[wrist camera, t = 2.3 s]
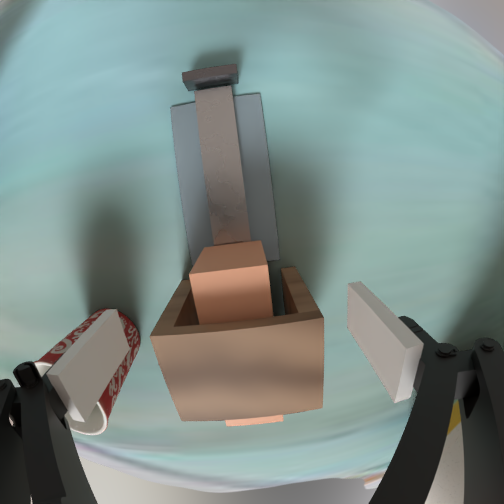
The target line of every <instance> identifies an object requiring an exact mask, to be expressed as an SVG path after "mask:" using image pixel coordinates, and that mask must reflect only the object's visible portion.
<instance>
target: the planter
mask: <svg viewBox="0 0 504 504" xmlns="http://www.w3.org/2000/svg"><path fill="white" fill-rule="evenodd" d="M463 502H464V450H463V436H462V425H461V417H460V409H459V402H458V399H456V400H454V403H453V409H452V414H451V419H450V424H449V428H448V433H447V437H446V441H445V445H444V449H443V452H442V456H441V459H440V462H439V466H438V469H437V472H436V475H435V478H434V481H433V483H432V486H431V489H430V491H429V494H428V497H427V499H426V502H425V504H463Z"/></svg>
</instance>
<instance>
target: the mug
mask: <svg viewBox="0 0 504 504" xmlns="http://www.w3.org/2000/svg"><path fill="white" fill-rule="evenodd" d="M105 310H109V309H101V310H98V311H97V312H95V313H94V314H92V315H91V316H90V317H89V318H88V319H87V320H85V321H84V322H83V323H82V324H81V325H79V326H78V327H77V328H76V329H74V330H73V331H72V332H71V333H70V334H68V335H67V336H66V337H65V338H64V339H63V340H61V341H60V342H59V343H58V344H56V345H55V346H54V347H53V348H52V349H51V350H50V351H49V352H47V353H46V354H45V355H44V356H43V357H42V358H41V359H39V360H38V361H35V362H34V363H35V365H36V367H37V369H38V371H39V373H40V375H41V377H42V376H43V375H44V374H45V373H46V372H47V370H48V369H49V368H50V367H51V366H52V365H54V363H55V362H56V360H58V358H59V357H60V356H61V355H62V354H63V353H64V352H66V351H67V350H68V349H69V348H70V347H71V346H72V345H73V344H74V342H75V341H76V340H77V339H78V338H79V337H80V336H81V335H82V334H83V333H84V332H85V331H86V330H87V329H88V328H89V327H90V326H91V325H92V324H93V323H94V322H95V321H96V319H97V318H98V317H99V316H100V315H101V314H102V313H103V312H104V311H105ZM117 312H118V315H119V318H120V321H121V324H122V327H123V330H124V333H125V336H126V339H127V342H128V345H129V347H130V350H129V351H128V353H127V354H126V356H125V357H124V359H123V361H122V362H121V364H120V366H119V367H118V369H117V370H116V372H115V374H114V375H113V377H112V379H111V380H110V382H109V383H108V385H107V387H106V388H105V390H104V392H103V393H102V395H101V397H100V398H99V400H98V402H97V404H96V405H95V407H94V409H93V410H92V412H91V414H90V416H89V417H88V419H87V421H86V423H85V422H80V421H76V420H73V419H72V417H71V416H70V414H69V412H68V411H67V413H66V414H65V417H66V419H67V421H68V423H69V427H70V429H72V430H74V431H76V432H79V433H83V434H87V435H97V434H100V433H102V432H104V431H105V430H106V428H107V425H108V418H109V415H110V413H111V410H112V408H113V406H114V403H115V401H116V399H117V397H118V394H119V392H120V389H121V387H122V385H123V382H124V380H125V378H126V376H127V374H128V372H129V369H130V367H131V365H132V363H133V360H134V358H135V357H136V355H137V352H138V350H139V347H140V337H139V333H138V331H137V329H136V327H135V325H134V324H133V322H132V321H131V320H130V319H129V318H128V317H126V316H125V315H124V314H122V313H121V312H119V311H117Z"/></svg>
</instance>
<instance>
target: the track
mask: <svg viewBox="0 0 504 504" xmlns="http://www.w3.org/2000/svg"><path fill="white" fill-rule="evenodd" d="M182 79H183V83H184V84H185V86H186V88H187V89H188V91H192V90H197V89H203V88H209V87H215V86H222V85H229V84H237V83H238V75H237V66H236V64H231V65H224V66H216V67H210V68H204V69H198V70H193V71H188V72H183V73H182ZM194 93H195V103H196V113H197V122H198V131H199V139H200V147H201V156H202V164H203V171H204V179H205V186H206V194H207V201H208V208H209V215H210V221H211V228H212V235H213V241H214V246H219V245H227V244H235V243H242V242H250V241H251V237H250V229H249V222H248V214H247V206H246V198H245V190H244V182H243V174H242V166H241V159H240V151H239V143H238V135H237V127H236V119H235V111H234V104H233V96H232V88H231V86H223V87H216V88H210V89H204V90H198V91H194Z"/></svg>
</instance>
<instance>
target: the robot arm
mask: <svg viewBox="0 0 504 504" xmlns="http://www.w3.org/2000/svg"><path fill="white" fill-rule="evenodd" d="M347 328H348V329H349V331H350V332H351V334H352V336H353V337H354V339H355V340H356V342H357V343H358V345H359V346H360V348H361V350H362V351H363V353H364V354H365V356H366V358H367V359H368V361H369V362H370V364H371V366H372V367H373V369H374V370H375V372H376V374H377V375H378V377H379V379H380V380H381V382H382V383H383V385H384V387H385V388H386V390H387V392H388V393H389V395H390V397H391V398H392V400H393V402H394V403H396V402H399V401H402V400H405V399H408V398H410V397H411V393H412V390H413V387H414V389H415V390H416V392H417V396H416V399H415V402H414V405H413V408H412V411H411V414H410V417H409V419H408V422H407V425H406V427H405V430H404V432H403V435H402V437H401V440H400V442H399V444H398V447H397V449H396V451H395V454H394V456H393V458H392V460H391V462H390V464H389V466H388V468H387V470H386V472H385V474H384V476H383V478H382V480H381V482H380V484H379V486H378V488H377V490H376V491H375V493H374V495H373V497H372V499H371V500H370V502H369V504H425V502H426V499H427V497H428V494H429V491H430V489H431V486H432V483H433V481H434V478H435V475H436V472H437V469H438V466H439V462H440V459H441V456H442V452H443V449H444V445H445V441H446V437H447V433H448V428H449V424H450V419H451V414H452V409H453V403H454V400H456V399H458V402H459V409H460V417H461V425H462V436H463V450H464V502H463V504H504V352H503V350H502V348H501V346H500V344H499V343H498V342H497V341H495V340H494V339H492V338H480V339H478V340H476V341H475V343H474V346H473V350H467V351H459V350H458V349H457V348H456V347H455V346H453V345H451V344H447V343H437V342H436V341H435V340H434V339H433V338H432V337H431V336H430V335H429V334H428V333H427V332H426V331H425V330H423V329H422V328H421V327H420V326H419V325H418V324H417V323H416V322H415V321H414V320H413V319H410V318H408V317H406V316H401V317H397V316H396V315H395V314H394V313H393V312H392V311H391V310H390V309H389V308H388V307H387V306H386V305H385V304H384V303H383V302H382V301H381V300H380V299H378V298H377V297H376V296H375V295H374V294H373V293H372V292H371V291H370V290H369V289H368V288H367V287H366V286H365V285H364V284H363V283H362V282H361V281H360V282H354V283H348V315H347ZM129 350H130V347H129V345H128V342H127V339H126V336H125V333H124V330H123V327H122V324H121V321H120V318H119V315H118V312H117V309H109V310H105V311H104V312H103V313H102V314H101V315H100V316H99V317H98V318H97V319H96V321H95V322H94V323H93V324H92V325H91V326H90V327H89V328H88V329H87V330H86V331H85V332H84V333H83V334H82V335H81V336H80V337H79V338H78V339H77V340H76V341H75V342H74V344H73V345H72V346H71V347H70V348H69V349H68V350H67V351H66V352H64V353H63V354H62V355H61V356H60V357H59V358H58V360H56V362H55V363H54V365H52V366H51V367H50V368H49V369H48V370H47V372H46V373H45V374H44V375H43V376H42V377H41V375H40V373H39V371H38V369H37V367H36V365H35V363H34V362H30V361H28V362H24V363H22V364H20V365H18V366H17V367H16V368H15V369H14V371H13V374H14V376H15V378H16V379H17V381H18V383H19V385H20V386H21V387H16V388H15V387H14V385H13V383H12V382H11V380H9V379H3V380H0V504H31V498H30V497H32V502H33V504H98V503H97V501H96V499H95V497H94V494H93V492H92V490H91V487H90V485H89V483H88V480H87V478H86V475H85V473H84V470H83V467H82V465H81V462H80V459H79V456H78V453H77V450H76V447H75V444H74V441H73V437H72V434H71V431H70V427H69V423H68V421H67V419H66V417H65V414H66V413H67V411H68V412H69V414H70V416H71V417H72V419H73V420H76V421H80V422H85V423H86V421H87V419H88V417H89V416H90V414H91V412H92V410H93V409H94V407H95V405H96V404H97V402H98V400H99V398H100V397H101V395H102V393H103V392H104V390H105V388H106V387H107V385H108V383H109V382H110V380H111V379H112V377H113V375H114V374H115V372H116V370H117V369H118V367H119V366H120V364H121V362H122V361H123V359H124V357H125V356H126V354H127V353H128V351H129ZM9 417H10V418H11V420H12V421H13V426H12V425H11V423H10V421H9Z"/></svg>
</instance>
